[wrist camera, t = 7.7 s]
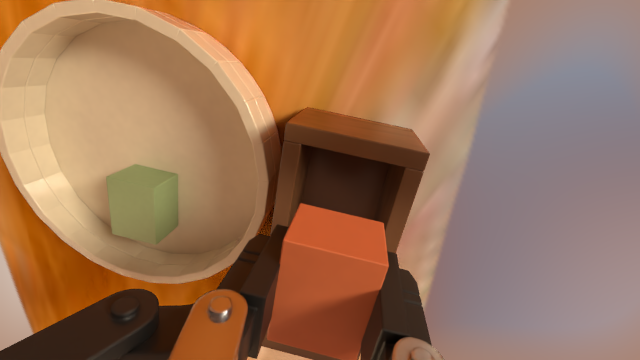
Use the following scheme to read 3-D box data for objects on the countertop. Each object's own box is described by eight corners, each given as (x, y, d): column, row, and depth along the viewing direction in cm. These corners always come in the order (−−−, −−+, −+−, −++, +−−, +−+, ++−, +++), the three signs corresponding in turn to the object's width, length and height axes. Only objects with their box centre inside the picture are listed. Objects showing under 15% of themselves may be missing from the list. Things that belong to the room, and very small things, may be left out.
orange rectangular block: (300, 202, 10) (282, 239, 8) (384, 222, 10) (389, 266, 8) (284, 289, 12) (265, 340, 10) (357, 307, 12) (355, 364, 9)
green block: (135, 163, 19) (105, 176, 17) (178, 173, 19) (154, 188, 17) (138, 216, 21) (111, 234, 18) (178, 225, 21) (156, 245, 18)
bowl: (21, -15, 17) (-48, -31, 14) (301, 40, 16) (287, 36, 13) (65, 227, 23) (24, 250, 20) (266, 278, 22) (252, 309, 19)
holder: (306, 106, 17) (285, 122, 12) (412, 129, 16) (430, 153, 12) (276, 288, 22) (254, 344, 18) (356, 308, 22) (354, 371, 17)
